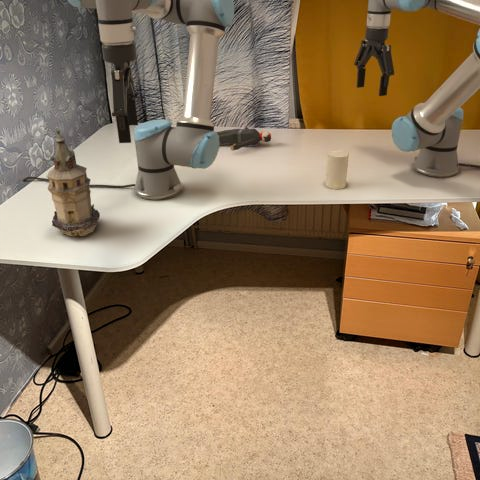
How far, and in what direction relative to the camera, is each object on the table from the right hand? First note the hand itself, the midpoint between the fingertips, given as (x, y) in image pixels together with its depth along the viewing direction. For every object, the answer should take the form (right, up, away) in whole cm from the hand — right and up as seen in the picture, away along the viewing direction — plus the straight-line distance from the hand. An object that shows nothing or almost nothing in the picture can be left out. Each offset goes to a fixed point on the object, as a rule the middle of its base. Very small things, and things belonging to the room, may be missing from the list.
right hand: (371, 91), depth 189 cm
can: (-14, -34, -9) cm, 38 cm away
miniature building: (-93, -49, -34) cm, 111 cm away
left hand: (-74, -26, -57) cm, 97 cm away
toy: (-49, -14, +29) cm, 58 cm away
